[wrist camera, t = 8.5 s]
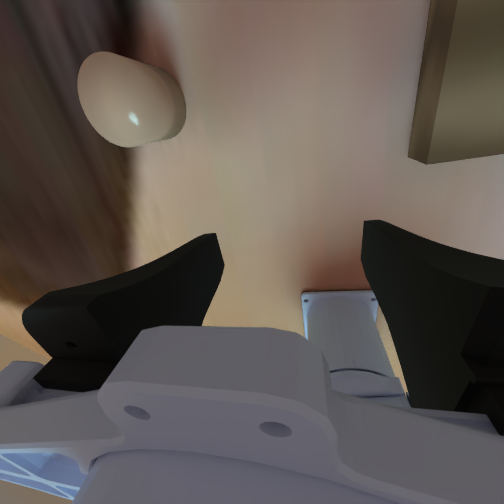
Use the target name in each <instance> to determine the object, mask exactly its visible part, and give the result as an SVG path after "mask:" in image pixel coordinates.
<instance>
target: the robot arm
mask: <svg viewBox="0 0 504 504" xmlns="http://www.w3.org/2000/svg"><path fill="white" fill-rule="evenodd" d="M361 261H362V265H363V269H364V272H365V276H366V278H367V280H368V282H369V284H370V287H371V289H372V290H362V291H328V292H304V293H302V294H301V299H302V309H303V319H304V329H305V338H304V337H303V336H301V335H300V334H298V333H296V332H291V331H286V330H281V329H276V328H268V327H216V326H202V323H203V320H204V317H205V315H206V312H207V310H208V308H209V306H210V303H211V301H212V299H213V297H214V295H215V292H216V290H217V288H218V285H219V283H220V281H221V277H222V274H223V270H224V266H225V265H224V261H223V258H222V254H221V250H220V247H219V243H218V239H217V236H216V233H210V234H203V235H201V236H199V237H197V238H195V239H193V240H191V241H189V242H188V243H186V244H184V245H182V246H181V247H179V248H177V249H175V250H174V251H172V252H170V253H168V254H166V255H164V256H162V257H160V258H158V259H156V260H154V261H152V262H150V263H148V264H145V265H143V266H141V267H138V268H136V269H133V270H130V271H127V272H125V273H122V274H119V275H116V276H113V277H110V278H106V279H103V280H99V281H96V282H92V283H88V284H84V285H80V286H75V287H70V288H66V289H61V290H56V291H52V292H49V293H47V294H45V295H44V296H43V297H41V298H40V299H38V300H37V301H36V302H34V303H33V304H32V305H30V306H29V307H28V308H26V309H25V310H24V311H23V314H22V322H23V325H24V327H25V329H26V330H27V331H28V333H29V334H30V335H31V336H32V337H33V338H34V339H35V340H36V341H37V342H38V344H39V345H40V346H41V347H42V348H43V349H44V350H45V351H46V352H47V353H48V354H49V355H50V356H51V357H53V358H52V359H51V360H50V361H49V362H48V363H47V364H46V365H45V366H44V365H43V364H41V363H38V362H28V361H12V362H11V363H10V364H9V365H8V366H7V367H5V368H4V369H3V370H2V371H1V372H0V480H4V481H8V482H12V483H15V484H19V485H23V486H26V487H30V488H33V489H37V490H40V491H44V492H47V493H50V494H53V495H57V496H60V497H63V498H67V499H70V500H73V502H72V503H71V504H504V260H502V259H497V258H492V257H488V256H483V255H479V254H475V253H470V252H467V251H463V250H460V249H456V248H453V247H449V246H446V245H443V244H440V243H437V242H434V241H431V240H429V239H426V238H423V237H421V236H418V235H416V234H413V233H411V232H408V231H406V230H404V229H401V228H399V227H397V226H395V225H392V224H390V223H387V222H385V221H382V220H369V221H364V227H363V239H362V251H361ZM372 298H374V299H372ZM305 299H307V300H305ZM378 304H379V306H380V308H381V310H382V312H383V314H384V317H385V319H386V322H387V324H388V327H389V330H390V333H391V336H392V339H393V342H394V345H395V349H396V352H397V355H398V358H399V362H400V365H401V368H402V372H403V375H404V379H405V382H406V386H407V390H408V392H406V396H407V398H406V396H405V393H404V390H403V387H402V385H401V382H400V380H399V378H398V377H395V375H394V372H393V369H392V367H391V364H390V361H389V358H388V356H387V353H386V350H385V348H384V345H383V342H382V340H381V337H380V334H379V332H378V329H377V326H376V317H377V309H378Z"/></svg>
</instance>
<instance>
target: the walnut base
mask: <svg viewBox="0 0 504 504" xmlns="http://www.w3.org/2000/svg"><path fill="white" fill-rule="evenodd" d="M498 154H504V0H431V3H430V10H429V17H428V23H427V30H426V37H425V44H424V51H423V57H422V64H421V71H420V78H419V85H418V91H417V98H416V105H415V112H414V118H413V125H412V132H411V139H410V146H409V152H408V157H409V158H412V159H414V160H417V161H419V162H421V163H424V164H426V165H427V164H435V163H442V162H449V161H456V160H463V159H470V158H477V157H484V156H491V155H498Z"/></svg>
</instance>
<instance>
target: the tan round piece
mask: <svg viewBox="0 0 504 504" xmlns="http://www.w3.org/2000/svg"><path fill="white" fill-rule="evenodd" d="M78 94H79V99H80V102H81V105H82V108H83V110H84V113H85V115H86V116H87V118H88V120H89V121H90V123H91V124H92V126H93V127H94V128H95V129H96V131H97V132H98V133H99V134H100V135H102V136H103V137H104V138H105V139H107V140H108V141H110V142H111V143H113V144H116V145H118V146H122V147H134V146H139V145H144V144H148V143H153V142H157V141H162V140H167V139H170V138H173V137H175V136H176V135H177V134H178V133H179V132H180V131H181V129H182V128H183V126H184V123H185V119H186V103H185V99H184V95H183V93H182V90H181V88H180V87H179V85H178V83H177V82H176V81H175V79H174V78H173V77H172V76H171V75H170V74H169V73H167V72H166V71H164V70H163V69H161V68H158V67H155V66H152V65H149V64H145V63H142V62H139V61H136V60H133V59H130V58H127V57H123V56H120V55H117V54H114V53H111V52H97V53H94V54H92V55H90V56H89V57H87V58H86V60H85V61H84V62H83V64H82V65H81V68H80V70H79V75H78Z"/></svg>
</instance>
